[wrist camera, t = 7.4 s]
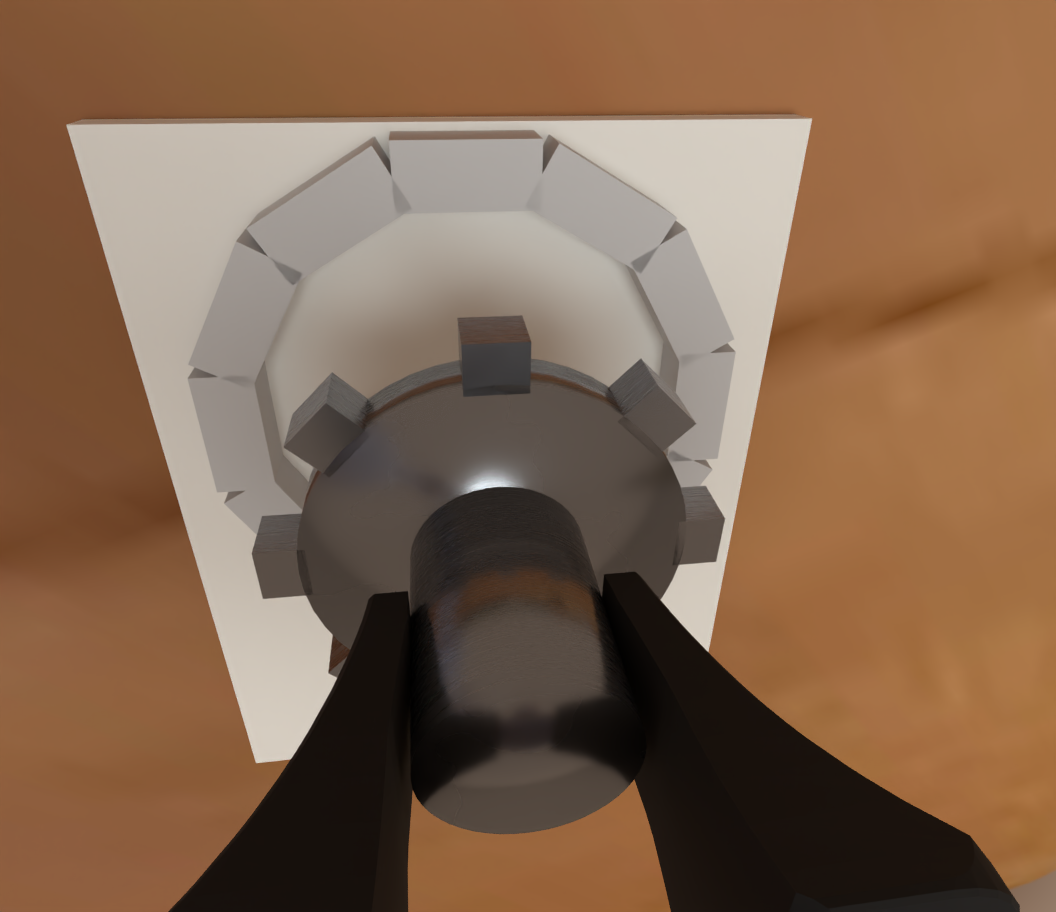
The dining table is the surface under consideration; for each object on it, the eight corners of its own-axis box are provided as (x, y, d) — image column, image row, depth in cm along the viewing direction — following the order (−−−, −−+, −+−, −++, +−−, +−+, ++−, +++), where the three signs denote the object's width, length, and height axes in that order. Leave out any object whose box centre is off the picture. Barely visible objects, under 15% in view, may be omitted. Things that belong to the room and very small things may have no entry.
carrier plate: (260, 741, 29) (240, 836, 26) (83, 119, 17) (2, 144, 14) (688, 695, 31) (721, 777, 28) (794, 113, 19) (875, 135, 16)
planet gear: (302, 688, 18) (260, 958, 13) (218, 326, 13) (95, 544, 8) (675, 652, 19) (768, 887, 14) (738, 307, 14) (923, 486, 9)
